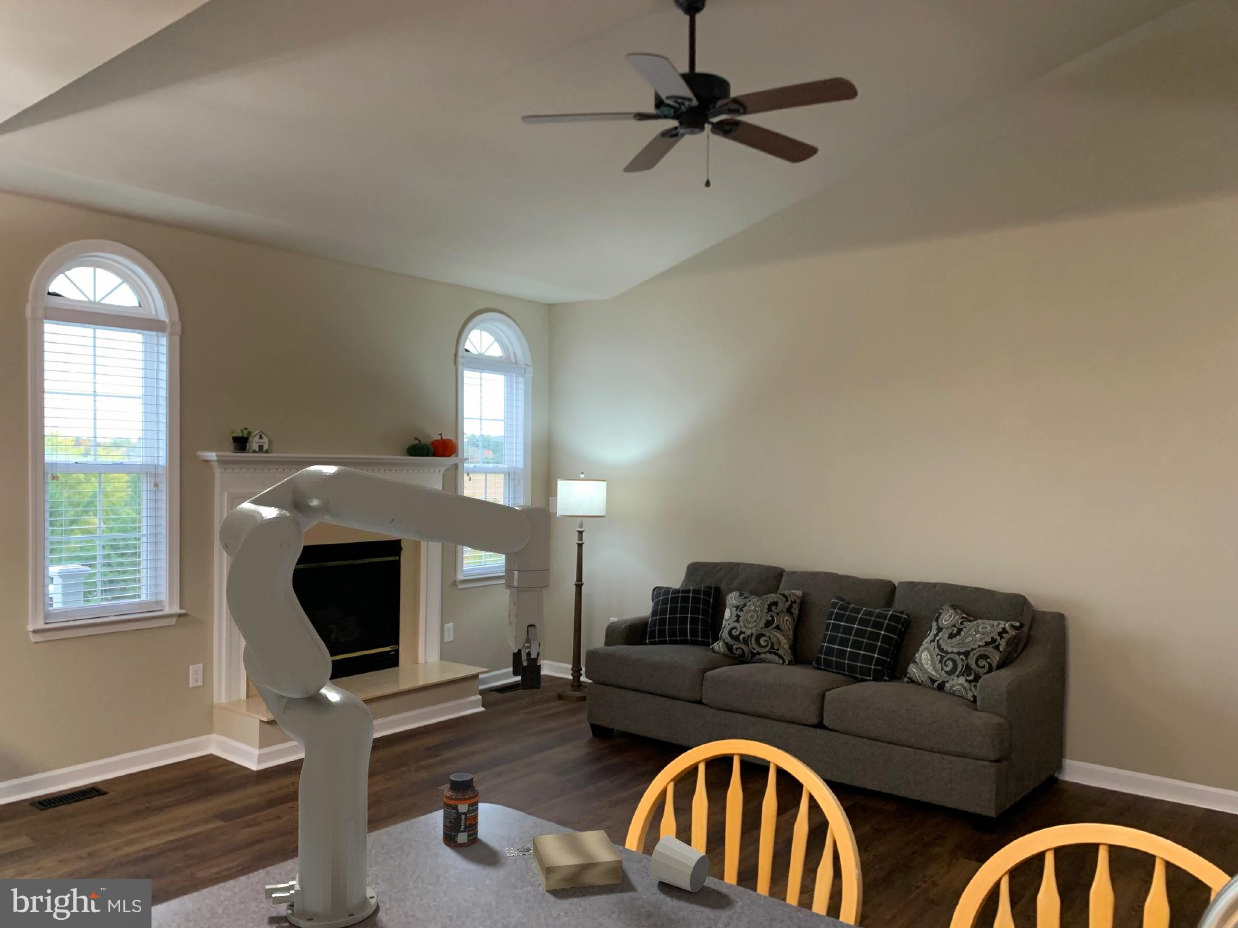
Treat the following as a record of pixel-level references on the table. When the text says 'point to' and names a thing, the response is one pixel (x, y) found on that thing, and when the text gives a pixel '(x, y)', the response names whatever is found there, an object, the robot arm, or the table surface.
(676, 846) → the light grey cup
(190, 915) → the table surface
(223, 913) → the table surface
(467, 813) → the supplement bottle
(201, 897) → the table surface
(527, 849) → the push button plate
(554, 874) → the maple block
